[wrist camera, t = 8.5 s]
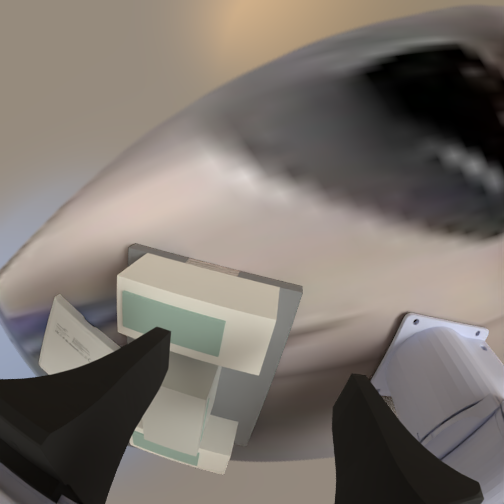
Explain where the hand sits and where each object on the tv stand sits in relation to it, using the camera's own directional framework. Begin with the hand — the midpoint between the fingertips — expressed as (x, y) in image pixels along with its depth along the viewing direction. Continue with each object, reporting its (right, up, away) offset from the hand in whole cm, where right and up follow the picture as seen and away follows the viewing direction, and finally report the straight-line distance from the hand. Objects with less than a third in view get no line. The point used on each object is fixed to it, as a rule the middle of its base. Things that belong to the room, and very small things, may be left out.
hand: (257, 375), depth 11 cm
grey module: (-5, -4, +11) cm, 13 cm away
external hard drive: (-18, -6, +15) cm, 25 cm away
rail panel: (-5, -4, +12) cm, 14 cm away
